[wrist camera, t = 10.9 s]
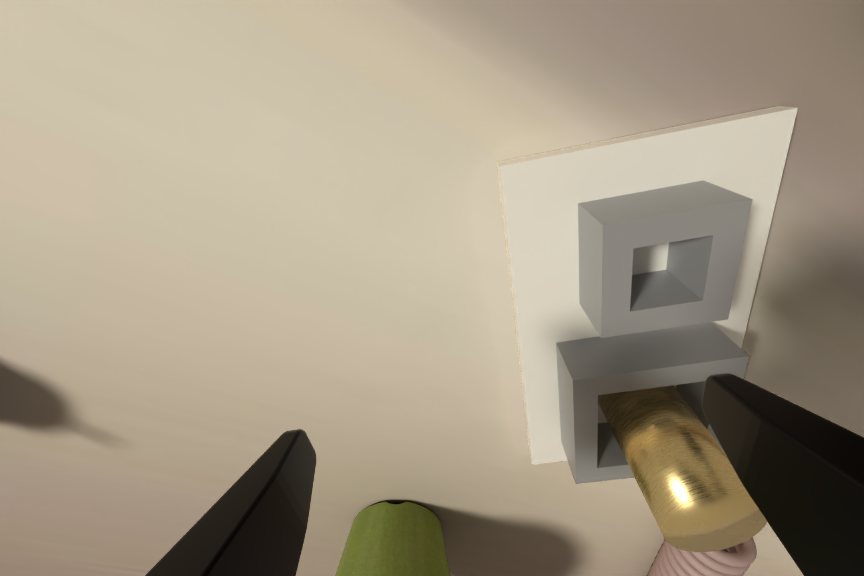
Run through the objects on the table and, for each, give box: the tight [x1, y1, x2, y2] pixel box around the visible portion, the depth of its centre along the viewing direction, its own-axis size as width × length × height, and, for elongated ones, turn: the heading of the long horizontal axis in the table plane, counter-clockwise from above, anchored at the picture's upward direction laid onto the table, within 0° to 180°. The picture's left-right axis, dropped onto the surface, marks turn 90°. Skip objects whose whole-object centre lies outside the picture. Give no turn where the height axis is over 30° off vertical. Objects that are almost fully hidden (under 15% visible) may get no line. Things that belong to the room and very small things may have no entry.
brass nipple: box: [598, 385, 767, 552], centre depth 19 cm, size 4×4×8 cm
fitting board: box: [497, 106, 798, 484], centre depth 20 cm, size 12×20×4 cm, turn 11°
